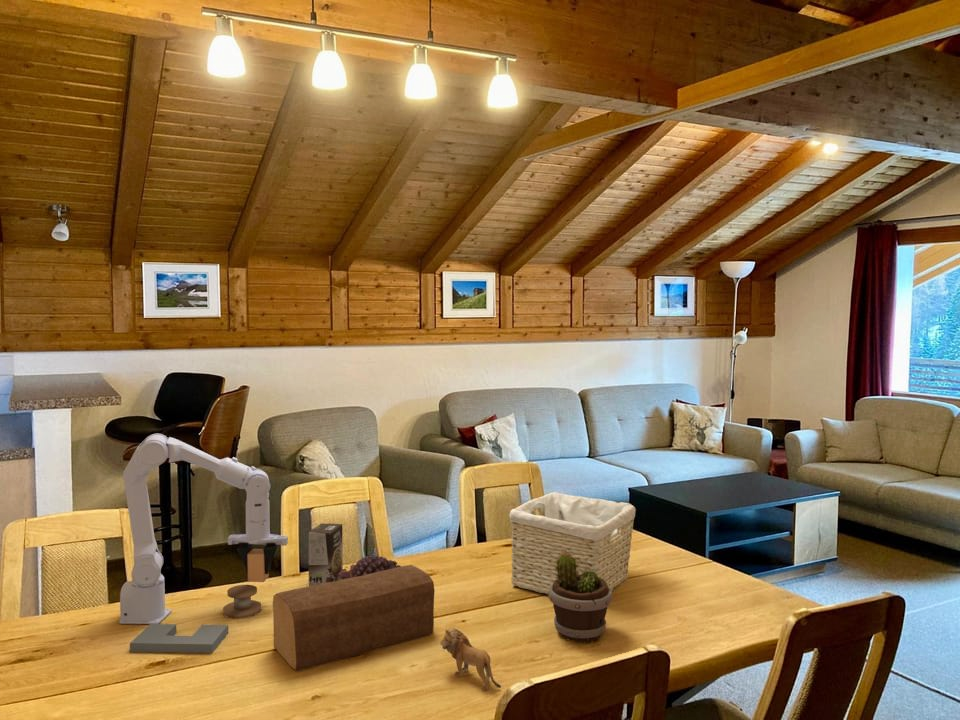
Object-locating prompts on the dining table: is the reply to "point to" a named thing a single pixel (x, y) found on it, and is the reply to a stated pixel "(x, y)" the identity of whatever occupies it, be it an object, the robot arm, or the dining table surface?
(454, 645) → the lion figurine
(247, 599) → the spool post
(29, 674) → the dining table surface
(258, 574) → the copper block
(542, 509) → the basket
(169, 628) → the notched board
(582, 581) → the flowerpot
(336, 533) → the coffee box
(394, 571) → the bread
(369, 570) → the purple lumpy cluster
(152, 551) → the robot arm
